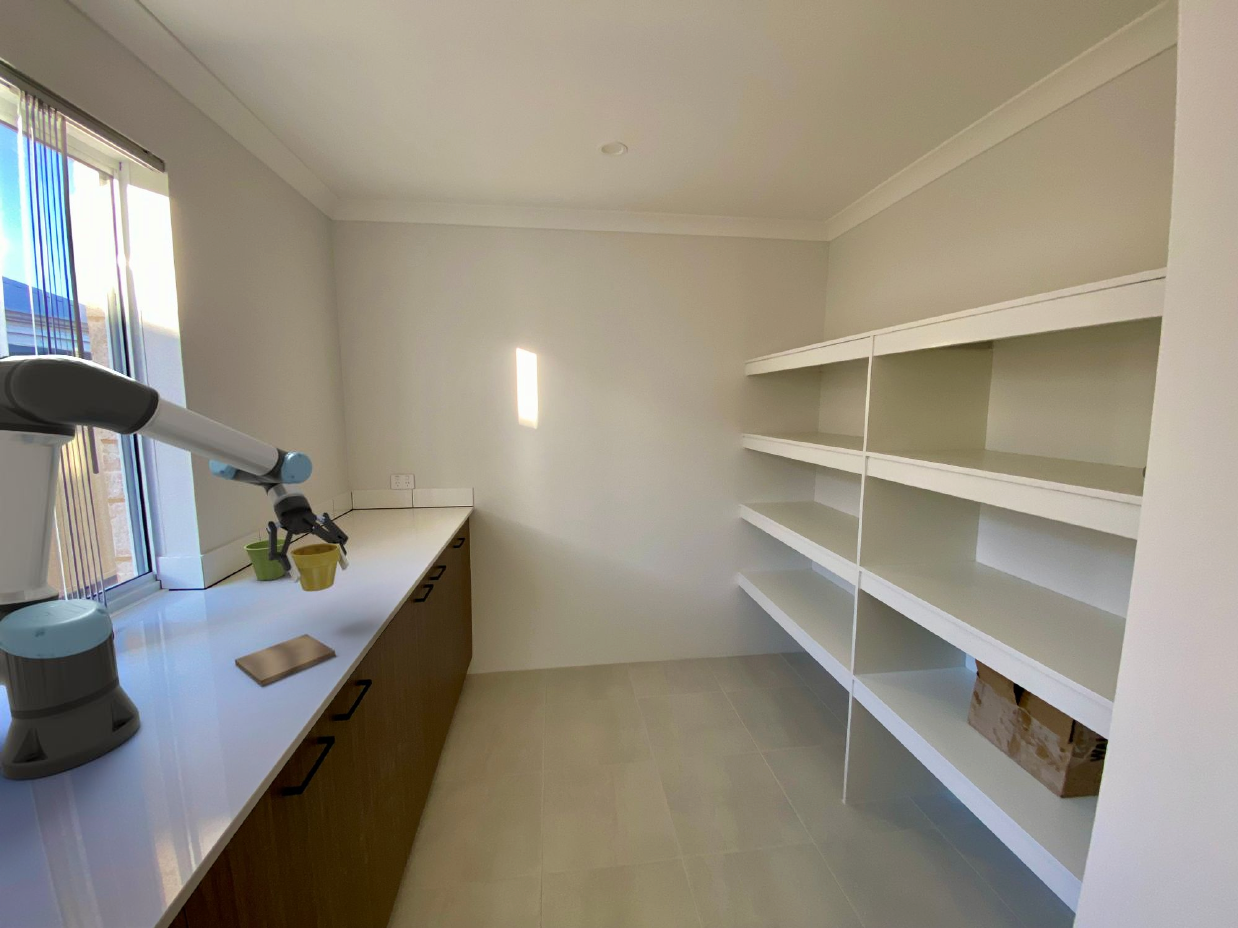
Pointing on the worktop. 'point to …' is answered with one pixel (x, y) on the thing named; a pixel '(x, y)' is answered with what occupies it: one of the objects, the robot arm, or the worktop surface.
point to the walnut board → (284, 659)
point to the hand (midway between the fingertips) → (322, 573)
